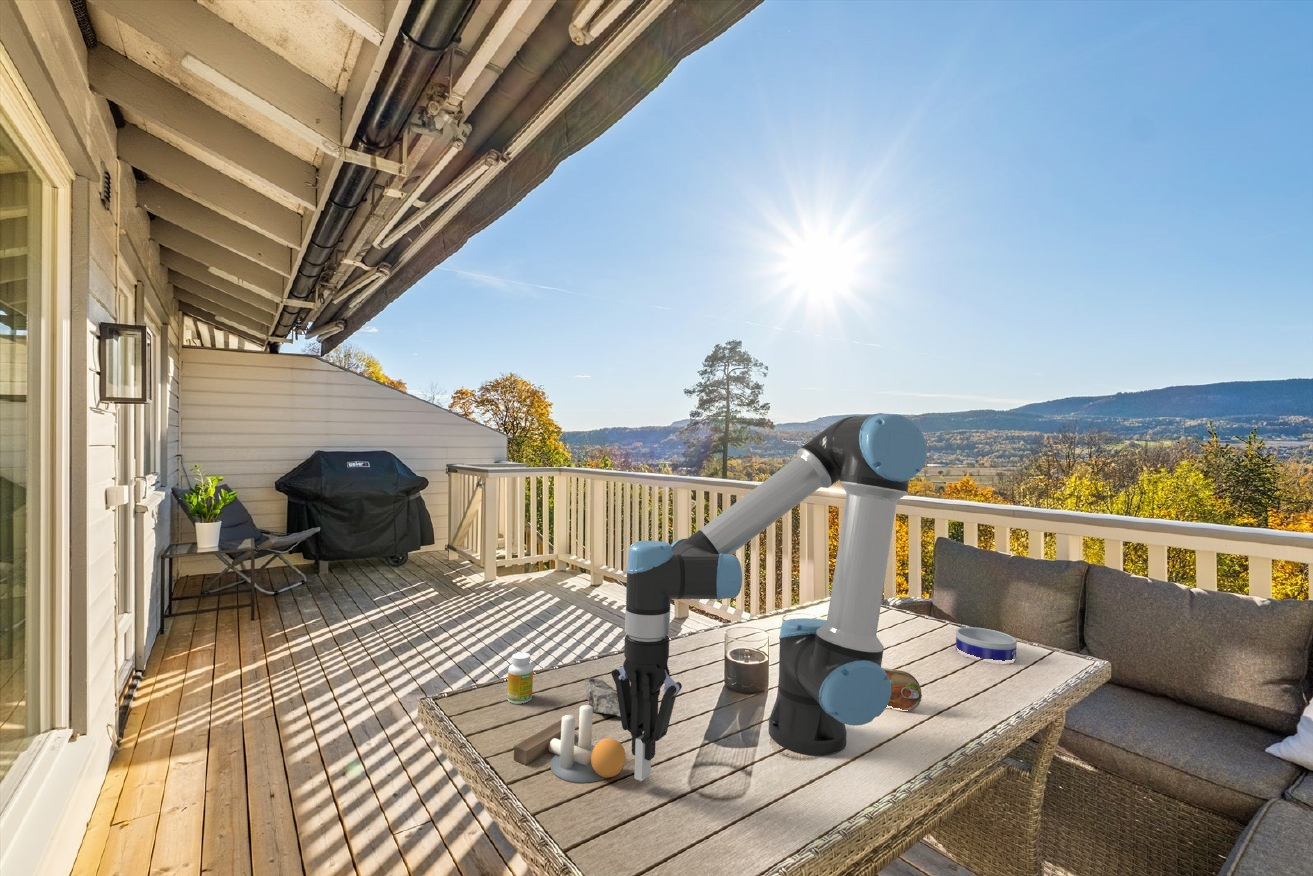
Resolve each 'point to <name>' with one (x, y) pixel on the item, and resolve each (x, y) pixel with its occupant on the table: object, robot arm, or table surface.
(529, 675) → the supplement bottle
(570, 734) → the pin
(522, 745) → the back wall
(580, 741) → the pin
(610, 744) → the ball
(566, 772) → the pin disc
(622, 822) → the table surface
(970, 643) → the dog bowl
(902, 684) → the tin
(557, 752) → the front pin
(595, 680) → the mineral rock
